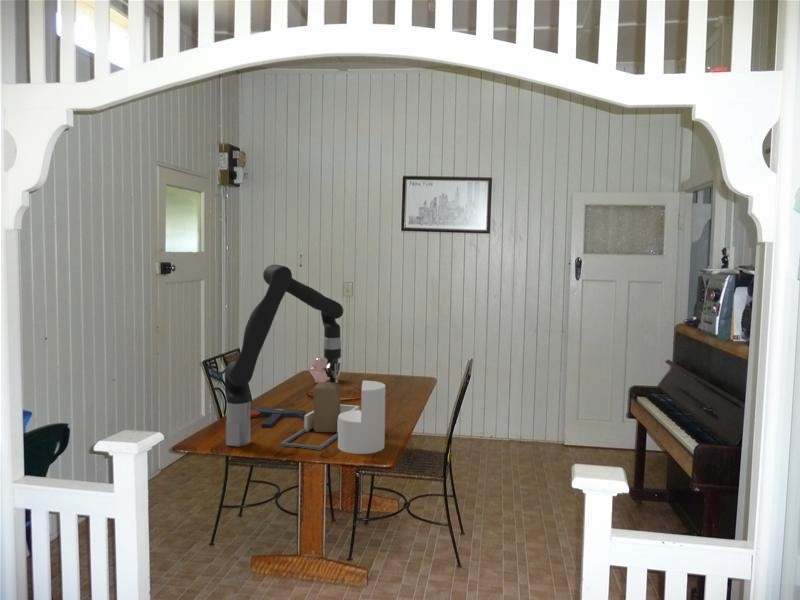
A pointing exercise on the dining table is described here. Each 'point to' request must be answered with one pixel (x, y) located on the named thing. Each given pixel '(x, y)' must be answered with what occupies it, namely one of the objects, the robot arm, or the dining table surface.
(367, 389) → the cylinder
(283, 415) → the submachine gun
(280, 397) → the dining table surface
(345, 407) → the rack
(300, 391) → the dining table surface
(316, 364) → the piggy bank
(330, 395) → the wooden block
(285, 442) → the frame
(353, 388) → the dining table surface
